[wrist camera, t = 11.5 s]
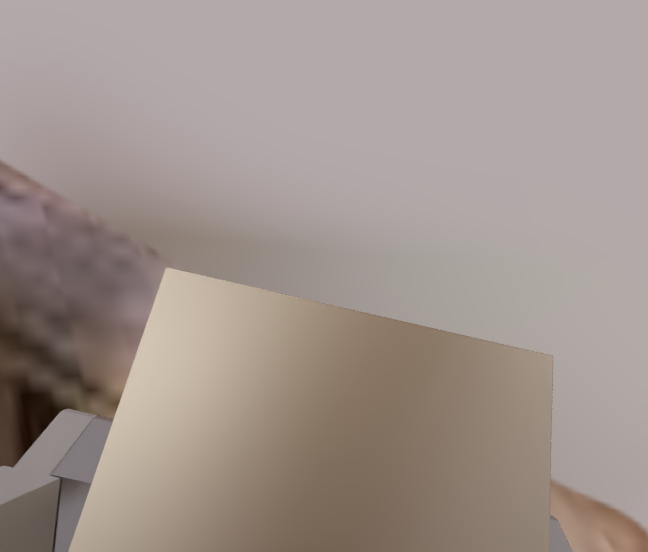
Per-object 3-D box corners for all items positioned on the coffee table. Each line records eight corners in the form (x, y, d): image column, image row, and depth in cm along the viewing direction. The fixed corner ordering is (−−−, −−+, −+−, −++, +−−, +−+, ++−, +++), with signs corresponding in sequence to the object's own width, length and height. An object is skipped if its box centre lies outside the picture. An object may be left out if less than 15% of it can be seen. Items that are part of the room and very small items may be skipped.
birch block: (131, 650, 13) (-4, 762, 5) (198, 412, 15) (165, 267, 8) (368, 699, 13) (542, 868, 6) (400, 456, 15) (553, 355, 8)
